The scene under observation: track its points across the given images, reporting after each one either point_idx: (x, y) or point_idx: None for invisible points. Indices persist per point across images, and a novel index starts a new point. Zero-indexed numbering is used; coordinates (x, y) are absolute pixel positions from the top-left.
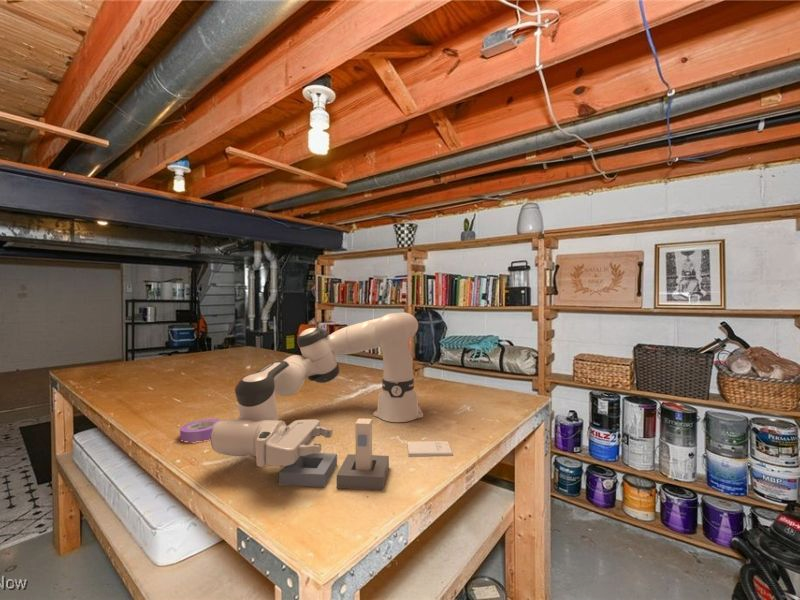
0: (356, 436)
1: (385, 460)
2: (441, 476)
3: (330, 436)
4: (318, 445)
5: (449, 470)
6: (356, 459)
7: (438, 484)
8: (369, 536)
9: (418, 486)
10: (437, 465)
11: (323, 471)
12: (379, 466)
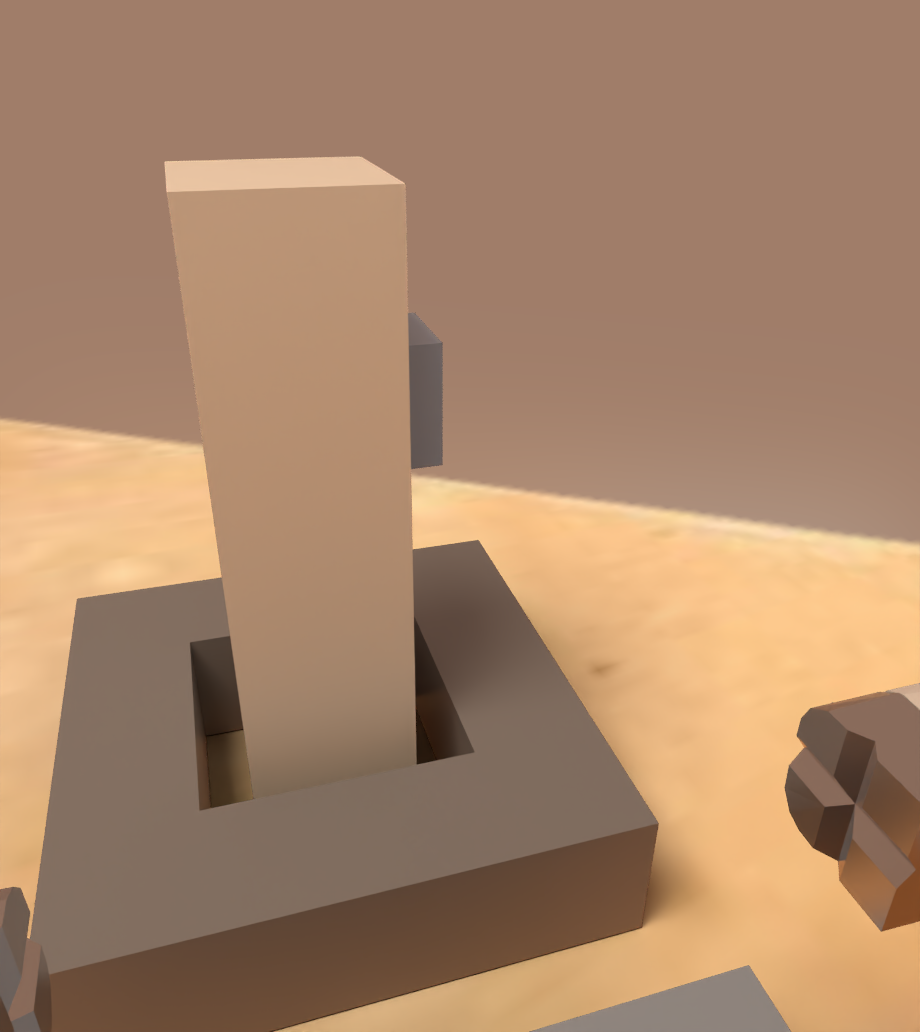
0: (406, 377)
1: (184, 592)
2: (205, 468)
3: (41, 984)
4: (908, 692)
5: (125, 457)
6: (410, 644)
7: None
8: (902, 555)
9: None
10: (57, 495)
11: (693, 1022)
12: None
